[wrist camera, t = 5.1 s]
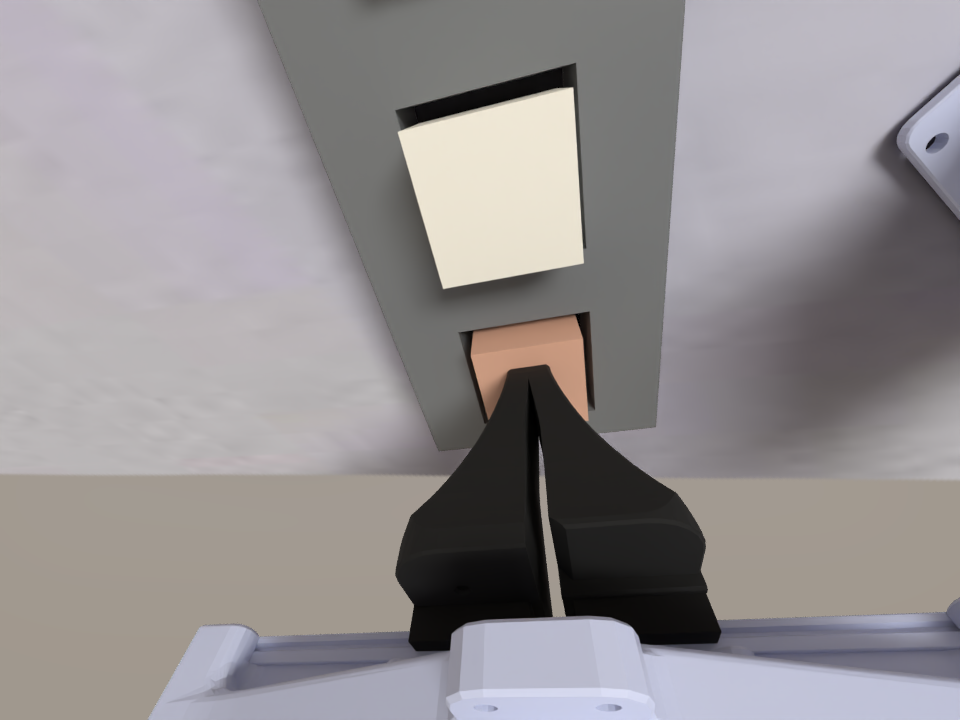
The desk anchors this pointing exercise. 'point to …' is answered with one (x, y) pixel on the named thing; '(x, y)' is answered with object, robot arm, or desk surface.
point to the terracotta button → (531, 357)
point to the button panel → (601, 168)
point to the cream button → (499, 187)
